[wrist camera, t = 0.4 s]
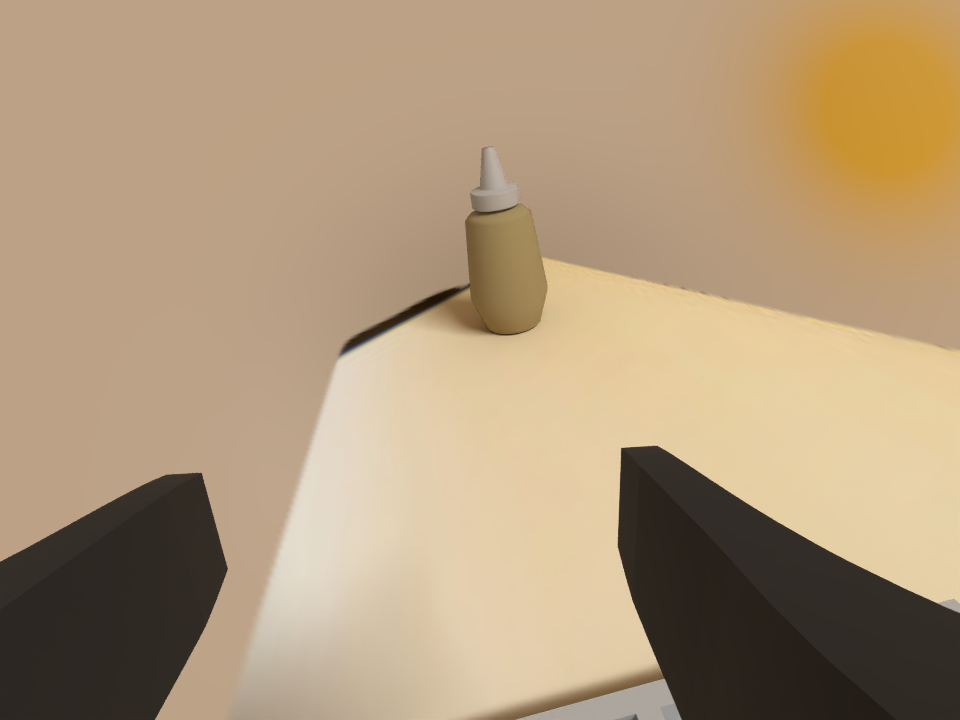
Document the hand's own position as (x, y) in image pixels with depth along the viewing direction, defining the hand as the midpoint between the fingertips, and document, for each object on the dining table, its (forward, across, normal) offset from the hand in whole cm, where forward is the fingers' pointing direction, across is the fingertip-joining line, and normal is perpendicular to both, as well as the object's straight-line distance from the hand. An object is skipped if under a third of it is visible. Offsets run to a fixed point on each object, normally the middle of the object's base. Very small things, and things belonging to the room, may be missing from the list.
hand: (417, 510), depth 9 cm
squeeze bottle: (+49, -5, +12) cm, 50 cm away
